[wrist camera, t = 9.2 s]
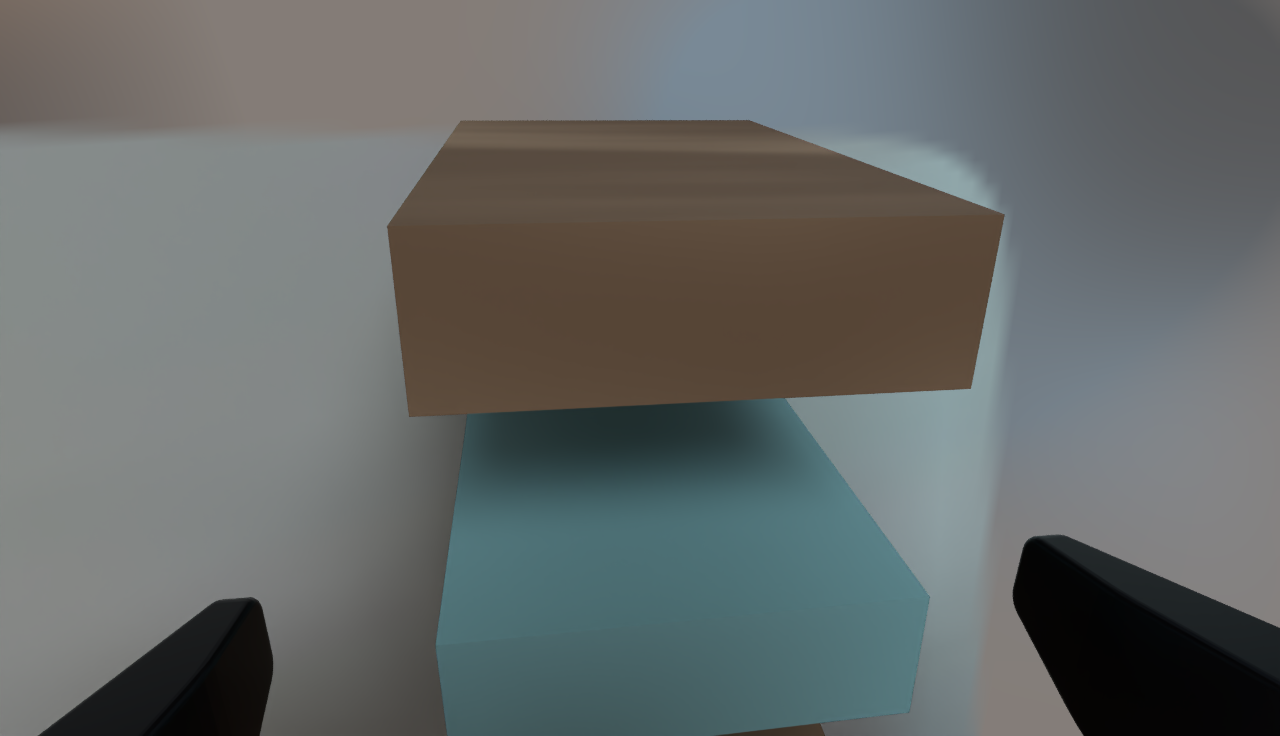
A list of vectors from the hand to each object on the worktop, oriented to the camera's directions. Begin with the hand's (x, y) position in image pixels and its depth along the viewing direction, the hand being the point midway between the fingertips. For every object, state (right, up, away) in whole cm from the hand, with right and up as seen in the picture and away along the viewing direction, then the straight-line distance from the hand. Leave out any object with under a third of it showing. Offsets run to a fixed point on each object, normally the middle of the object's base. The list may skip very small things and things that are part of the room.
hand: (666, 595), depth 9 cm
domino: (-1, +6, +5) cm, 8 cm away
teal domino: (-1, +3, +6) cm, 7 cm away
